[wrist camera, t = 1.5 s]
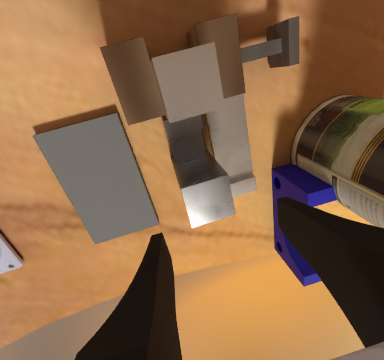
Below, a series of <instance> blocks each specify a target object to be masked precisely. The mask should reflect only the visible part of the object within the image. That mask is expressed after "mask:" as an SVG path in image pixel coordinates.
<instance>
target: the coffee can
mask: <svg viewBox="0 0 384 360" xmlns="http://www.w3.org/2000/svg"><path fill="white" fill-rule="evenodd" d="M291 156H292V164H294V165H296V166H298V167H300V168H302V169H303V170H305V171H307V172H309V173H310V174H312V175H314V176H315V177H317V178H319V179H321V180H322V181H324V182H326V183H328V184H329V185H331V186H333V187H334V192H335V195H336V197H337V199H338V200H335V201H337V202H338V203H340V204H342V205H343V206H345V207H346V208H348V209H349V210H351V211H352V212H354V213H355V214H357V215H359V216H360V217H362V218H363V219H365V220H366V221H368V222H370V223H371V224H373V225H374V226H377V227H381V228H384V99H383V98H370V97H359V96H355V95H341V96H338V97H334V98H332V99H330V100H328V101H326V102H324V103H323V104H321V105H320V106H318V107H317V108H316V109H315V110H313V111H312V112H311V113H310V114H309V115H308V117H307V118H306V119H305V120H304V122H303V124H302V125H301V126H300V128H299V130H298V132H297V134H296V136H295V139H294V142H293V147H292V155H291Z"/></svg>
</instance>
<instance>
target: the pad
mask: <svg viewBox="0 0 384 360" xmlns="http://www.w3.org/2000/svg"><path fill="white" fill-rule="evenodd" d="M33 138H34V139H35V141H36V143H37V145H38V146H39V148H40V150H41V152H42V153H43V155H44V157H45V158H46V160H47V162H48V164H49V165H50V167H51V169H52V171H53V172H54V174H55V176H56V177H57V179H58V181H59V183H60V184H61V186H62V188H63V189H64V191H65V193H66V195H67V196H68V198H69V200H70V202H71V203H72V205H73V207H74V208H75V210H76V212H77V214H78V215H79V217H80V219H81V220H82V222H83V224H84V226H85V227H86V229H87V231H88V233H89V234H90V236H91V238H92V239H93V241H94V243H95V244H98V243H101V242H105V241H108V240H111V239H114V238H117V237H121V236H124V235H127V234H130V233H133V232H137V231H140V230H143V229H146V228H149V227H153V226H156V225H159V220H158V217H157V215H156V212H155V209H154V207H153V204H152V202H151V199H150V196H149V194H148V191H147V188H146V186H145V183H144V180H143V178H142V175H141V172H140V170H139V167H138V165H137V162H136V159H135V157H134V154H133V151H132V149H131V146H130V143H129V141H128V138H127V135H126V133H125V130H124V128H123V125H122V122H121V120H120V117H119V114H118V112H116V113H112V114H109V115H105V116H101V117H97V118H94V119H90V120H86V121H83V122H79V123H75V124H72V125H68V126H64V127H61V128H57V129H53V130H50V131H46V132H42V133H39V134H35V135H33Z"/></svg>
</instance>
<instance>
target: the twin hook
mask: <svg viewBox="0 0 384 360" xmlns="http://www.w3.org/2000/svg"><path fill="white" fill-rule="evenodd" d="M151 66H152V69H153V73H154V76H155V80H156V84H157V87H158V91H159V94H160V98H161V101H162V105H163V108H164V112H165V115H166V117H167V119H168V121H169V123H172V122H176V121H179V120H183V119H187V118H190V117H194V116H197V115H201V114H203V117H204V121H205V126H206V131H207V136H208V141H209V146H210V151H211V155H212V156H213V157H214V159H215V160H216V161H217V162H218V163H219V164H220V165H221V167H222V168H223V169H224V170H225V171H226V172H227V173H228V175H229V180H230V186H231V192H232V197H235V196H238V195H241V194H244V193H247V192H251V191H254V190H257V186H256V178H255V176H254V175H253V172H252V164H251V155H250V147H249V138H248V130H247V122H246V113H245V105H244V96H243V94H240V95H236V96H233V97H229V98H225V99H224V98H223V92H222V85H221V79H220V73H219V66H218V60H217V54H216V47H215V42H212V43H208V44H204V45H200V46H196V47H193V48H189V49H185V50H181V51H177V52H173V53H169V54H165V55H161V56H158V57H154V58H152V59H151Z"/></svg>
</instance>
